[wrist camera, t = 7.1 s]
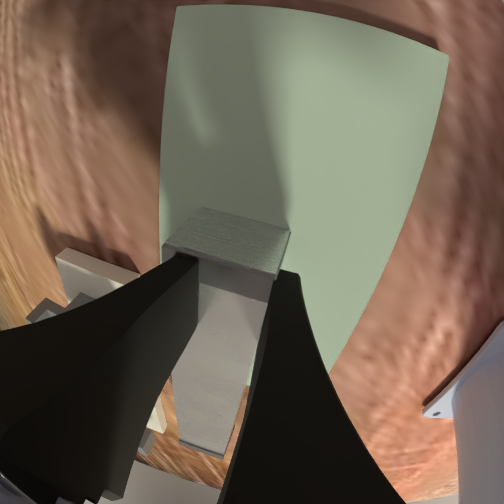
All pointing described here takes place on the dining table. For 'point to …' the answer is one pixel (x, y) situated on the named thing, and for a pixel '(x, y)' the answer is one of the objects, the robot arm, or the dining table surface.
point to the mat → (300, 141)
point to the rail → (222, 319)
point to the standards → (86, 290)
